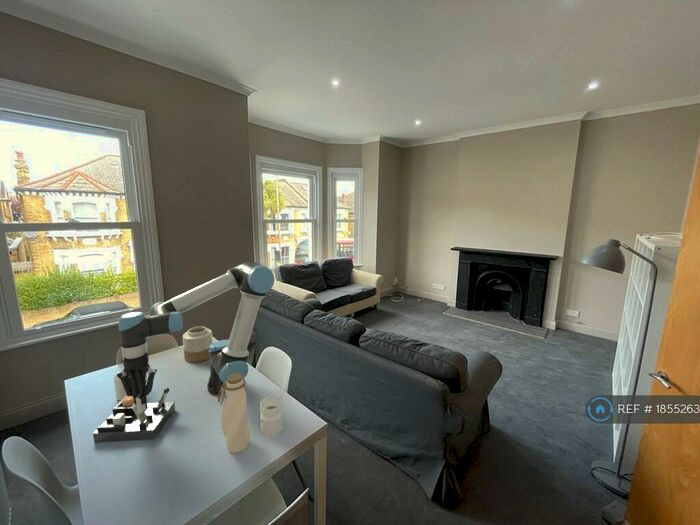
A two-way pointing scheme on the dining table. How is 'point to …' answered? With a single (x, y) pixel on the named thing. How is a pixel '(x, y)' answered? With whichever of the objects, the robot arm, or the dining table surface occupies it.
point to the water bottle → (234, 413)
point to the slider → (119, 419)
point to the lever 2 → (163, 397)
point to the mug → (120, 387)
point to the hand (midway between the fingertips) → (141, 411)
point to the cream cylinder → (271, 416)
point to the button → (128, 401)
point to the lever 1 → (142, 416)
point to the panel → (134, 423)
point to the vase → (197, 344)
